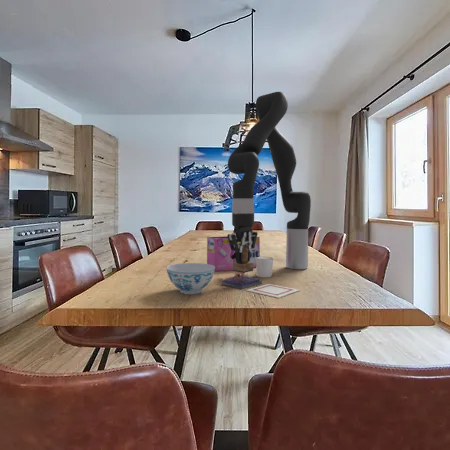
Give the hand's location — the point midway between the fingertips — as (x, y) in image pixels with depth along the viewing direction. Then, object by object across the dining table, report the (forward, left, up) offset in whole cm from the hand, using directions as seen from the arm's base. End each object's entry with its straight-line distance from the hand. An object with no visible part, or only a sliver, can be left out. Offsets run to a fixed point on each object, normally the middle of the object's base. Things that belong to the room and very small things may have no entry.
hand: (242, 261), depth 116 cm
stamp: (0, 0, -3) cm, 3 cm away
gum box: (-21, -23, -8) cm, 32 cm away
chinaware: (+19, -5, -8) cm, 21 cm away
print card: (0, +13, -8) cm, 15 cm away
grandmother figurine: (-9, -9, -8) cm, 15 cm away
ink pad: (0, 0, -8) cm, 8 cm away
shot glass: (-17, -3, -8) cm, 19 cm away
